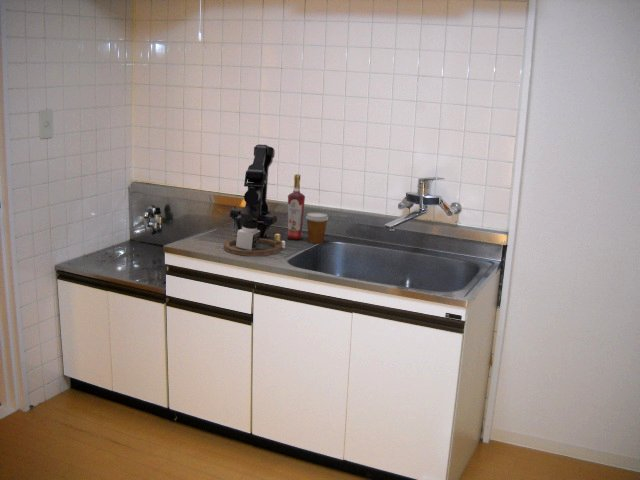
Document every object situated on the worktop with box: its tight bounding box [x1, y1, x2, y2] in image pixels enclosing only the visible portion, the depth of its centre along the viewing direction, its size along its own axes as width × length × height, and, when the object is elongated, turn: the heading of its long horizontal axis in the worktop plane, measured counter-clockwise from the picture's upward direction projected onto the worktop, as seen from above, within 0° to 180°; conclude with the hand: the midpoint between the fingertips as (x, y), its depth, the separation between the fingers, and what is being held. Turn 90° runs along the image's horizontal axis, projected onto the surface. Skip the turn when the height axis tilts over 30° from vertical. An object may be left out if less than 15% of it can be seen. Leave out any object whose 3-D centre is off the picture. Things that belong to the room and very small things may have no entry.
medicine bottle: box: [235, 218, 260, 251], centre depth 295 cm, size 7×7×12 cm
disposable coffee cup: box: [305, 211, 329, 245], centre depth 311 cm, size 10×10×12 cm
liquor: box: [286, 173, 306, 241], centre depth 313 cm, size 7×7×28 cm
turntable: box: [222, 233, 282, 257], centre depth 296 cm, size 23×23×6 cm
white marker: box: [280, 240, 286, 249], centre depth 300 cm, size 1×2×2 cm, turn 18°
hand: (251, 236), depth 296 cm, fingers open, 9 cm apart
